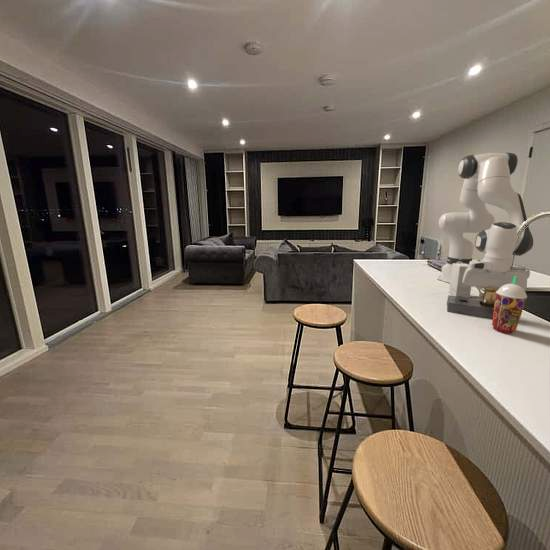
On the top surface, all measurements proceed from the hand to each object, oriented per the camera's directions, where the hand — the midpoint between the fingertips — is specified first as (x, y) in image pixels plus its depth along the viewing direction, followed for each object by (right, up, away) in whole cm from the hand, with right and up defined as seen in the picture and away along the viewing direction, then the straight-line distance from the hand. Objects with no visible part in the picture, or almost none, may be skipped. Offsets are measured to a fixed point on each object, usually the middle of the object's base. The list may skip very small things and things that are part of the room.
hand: (489, 298), depth 113 cm
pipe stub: (0, -5, +1) cm, 5 cm away
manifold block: (-3, -6, +4) cm, 8 cm away
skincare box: (+3, -1, +24) cm, 24 cm away
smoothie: (-5, -11, -13) cm, 18 cm away
